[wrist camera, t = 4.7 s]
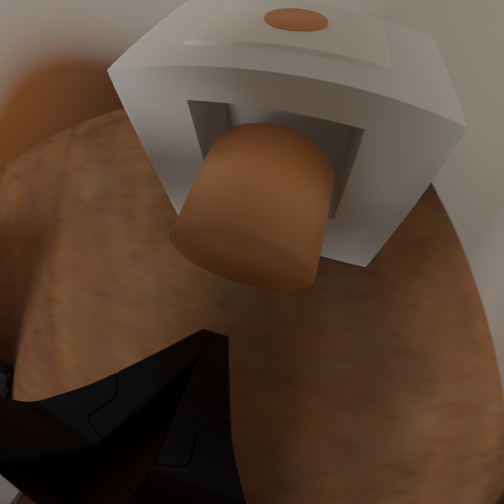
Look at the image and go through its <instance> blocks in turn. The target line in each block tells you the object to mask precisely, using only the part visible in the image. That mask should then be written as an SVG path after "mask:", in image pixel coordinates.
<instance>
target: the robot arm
mask: <svg viewBox="0 0 504 504" xmlns="http://www.w3.org/2000/svg"><path fill="white" fill-rule="evenodd" d="M0 504H246V502H245V499H244V495H243V491H242V487H241V483H240V479H239V475H238V470H237V466H236V462H235V457H234V451H233V445H232V435H231V419H230V381H229V338H228V336H225V335H222V334H219V333H217V334H215V333H214V332H212V331H209V330H206V329H202V330H200V331H198V332H196V333H194V334H192V335H190V336H188V337H186V338H184V339H182V340H180V341H179V342H177V343H175V344H173V345H171V346H169V347H167V348H165V349H163V350H161V351H159V352H157V353H155V354H153V355H151V356H149V357H147V358H145V359H143V360H141V361H139V362H137V363H135V364H133V365H131V366H129V367H127V368H125V369H123V370H121V371H119V372H118V374H117V373H114V374H112V375H110V376H108V377H106V378H104V379H101V380H99V381H97V382H95V383H92V384H90V385H87V386H84V387H81V388H79V389H76V390H73V391H70V392H66V393H63V394H60V395H57V396H54V397H50V398H47V399H44V400H40V401H34V402H22V401H17V400H12V399H8V398H4V397H0Z"/></svg>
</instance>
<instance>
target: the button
mask: <svg viewBox="0 0 504 504" xmlns="http://www.w3.org/2000/svg"><path fill="white" fill-rule="evenodd" d="M334 181H335V174H334V169H333V166H332V164H331V162H330V160H329V159H328V157H327V156H326V154H325V153H324V152H323V151H322V150H321V149H320V148H319V147H318V146H317V145H316V144H315V143H313V142H312V141H311V140H309V139H308V138H306V137H304V136H303V135H301V134H299V133H297V132H295V131H292V130H290V129H287V128H284V127H281V126H277V125H272V124H265V123H246V124H240V125H236V126H233V127H230V128H228V129H226V130H224V131H223V132H221V133H220V134H219V135H218V136H217V137H216V138H215V139H214V141H213V143H212V145H211V147H210V149H209V151H208V153H207V155H206V157H205V159H204V161H203V164H202V166H201V168H200V170H199V172H198V174H197V176H196V178H195V180H194V183H193V185H192V187H191V189H190V191H189V193H188V196H187V198H186V200H185V202H184V204H183V207H182V209H181V211H180V213H179V216H178V218H177V220H176V223H175V225H174V227H173V230H172V232H171V234H170V240H171V243H172V245H173V246H174V247H175V249H176V250H177V251H178V252H179V253H180V254H181V255H183V256H184V257H185V258H187V259H188V260H189V261H191V262H193V263H194V264H196V265H198V266H199V267H201V268H203V269H205V270H207V271H209V272H211V273H214V274H216V275H218V276H221V277H223V278H226V279H229V280H232V281H235V282H238V283H241V284H245V285H249V286H253V287H257V288H263V289H269V290H278V291H296V290H302V289H306V288H308V287H310V286H311V285H312V284H313V283H314V281H315V277H316V272H317V268H318V263H319V259H320V254H321V249H322V244H323V240H324V235H325V230H326V225H327V219H328V214H329V209H330V203H331V198H332V192H333V186H334Z"/></svg>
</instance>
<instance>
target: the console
mask: <svg viewBox="0 0 504 504" xmlns="http://www.w3.org/2000/svg"><path fill="white" fill-rule="evenodd" d="M107 71H108V73H109V76H110V77H111V80H112V82H113V84H114V87H115V89H116V91H117V93H118V95H119V97H120V100H121V102H122V104H123V106H124V108H125V110H126V113H127V115H128V117H129V119H130V121H131V123H132V125H133V127H134V129H135V131H136V133H137V136H138V138H139V140H140V142H141V144H142V146H143V148H144V150H145V152H146V154H147V156H148V158H149V160H150V162H151V164H152V166H153V168H154V170H155V172H156V174H157V176H158V178H159V180H160V181H161V183H162V185H163V187H164V189H165V191H166V193H167V195H168V197H169V199H170V201H171V203H172V204H173V206H174V208H175V210H176V212H177V214H178V216H179V213H180V211H181V209H182V207H183V204H184V202H185V200H186V198H187V196H188V193H189V191H190V189H191V187H192V185H193V183H194V180H195V178H196V176H197V174H198V172H199V170H200V168H201V166H202V164H203V161H204V159H205V157H206V155H207V153H208V151H209V149H210V147H211V145H212V143H213V141H214V139H215V138H216V137H217V136H218V135H219V134H220V133H221V132H223V131H224V130H226V129H228V128H230V127H233V126H236V125H240V124H246V123H265V124H272V125H277V126H281V127H284V128H287V129H290V130H292V131H295V132H297V133H299V134H301V135H303V136H304V137H306V138H308V139H309V140H311V141H312V142H313V143H315V144H316V145H317V146H318V147H319V148H320V149H321V150H322V151H323V152H324V153H325V154H326V156H327V157H328V159H329V160H330V162H331V164H332V166H333V169H334V174H335V181H334V186H333V192H332V198H331V203H330V209H329V214H328V219H327V225H326V230H325V235H324V240H323V244H322V249H321V254H320V256H322V257H326V258H330V259H334V260H338V261H342V262H346V263H350V264H354V265H358V266H362V267H366V266H367V265H368V264H369V262H370V261H371V260H372V259H373V258H374V256H375V255H376V254H377V253H378V251H379V250H380V249H381V248H382V247H383V245H384V244H385V243H386V242H387V240H388V239H389V238H390V237H391V235H392V234H393V233H394V232H395V230H396V229H397V228H398V226H399V225H400V224H401V223H402V221H403V220H404V219H405V217H406V216H407V215H408V213H409V212H410V211H411V209H412V208H413V207H414V205H415V204H416V203H417V201H418V200H419V199H420V197H421V196H422V194H423V193H424V192H425V190H426V189H427V188H428V186H429V185H430V183H431V182H432V180H433V179H434V177H435V176H436V175H437V173H438V172H439V170H440V169H441V167H442V166H443V164H444V163H445V161H446V160H447V158H448V157H449V155H450V154H451V152H452V151H453V149H454V148H455V146H456V145H457V143H458V141H459V140H460V138H461V137H462V135H463V133H464V132H465V130H466V128H467V124H466V121H465V118H464V115H463V111H462V109H461V106H460V102H459V100H458V97H457V94H456V91H455V89H454V86H453V83H452V81H451V78H450V76H449V73H448V71H447V68H446V66H445V64H444V62H443V59H442V57H441V55H440V53H439V51H438V48H437V46H436V44H435V42H434V40H433V38H432V36H429V35H426V34H424V33H421V32H419V31H416V30H413V29H410V28H407V27H404V26H401V25H398V24H395V23H392V22H389V21H385V20H383V19H380V18H377V17H373V16H369V15H365V14H361V13H357V12H353V11H348V10H343V9H338V8H333V7H327V6H322V5H315V4H307V3H300V2H292V1H281V0H193V1H188V2H186V3H185V4H183V5H182V6H180V7H179V8H178V9H176V10H175V11H174V12H172V13H171V14H170V15H168V16H167V17H166V18H164V19H163V20H162V21H161V22H159V23H158V24H157V25H156V26H155V27H153V28H152V29H151V30H150V31H148V32H147V33H146V34H145V35H144V36H143V37H141V38H140V39H139V40H138V41H137V42H136V43H135V44H134V45H133V46H131V47H130V48H129V49H128V50H127V51H126V52H125V53H124V54H123V55H122V56H121V57H120V58H119V59H118V60H117V61H116V62H115V63H114V64H113V65H112V66H111V67H110V68H109V69H108V70H107Z"/></svg>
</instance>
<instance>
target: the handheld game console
mask: <svg viewBox="0 0 504 504" xmlns="http://www.w3.org/2000/svg"><path fill="white" fill-rule="evenodd" d="M12 374H13V367H12V366H11V365H10V364H8V363H7V362H5V361H2V360H0V397H4V398H8V399H11V385H12Z"/></svg>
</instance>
